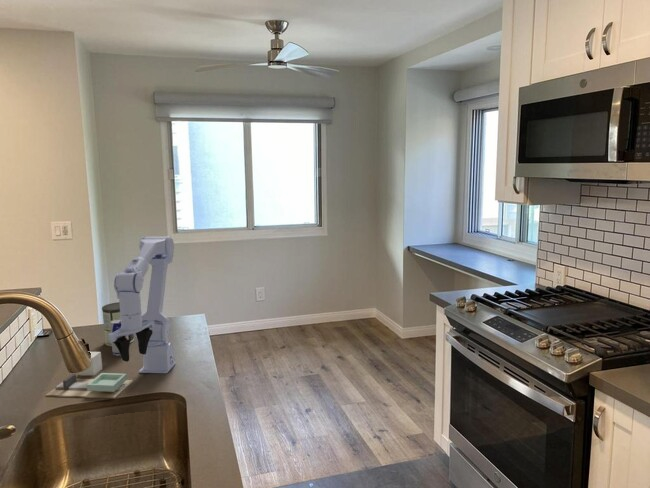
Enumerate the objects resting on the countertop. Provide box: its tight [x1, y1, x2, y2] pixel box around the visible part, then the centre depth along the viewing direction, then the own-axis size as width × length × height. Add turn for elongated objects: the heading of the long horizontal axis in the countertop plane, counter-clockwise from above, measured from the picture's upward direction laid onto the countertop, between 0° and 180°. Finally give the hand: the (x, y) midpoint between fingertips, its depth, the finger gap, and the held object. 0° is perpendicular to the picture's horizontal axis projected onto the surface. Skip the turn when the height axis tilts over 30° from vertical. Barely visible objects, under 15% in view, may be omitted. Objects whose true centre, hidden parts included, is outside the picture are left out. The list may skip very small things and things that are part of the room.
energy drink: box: [110, 319, 128, 357], centre depth 176 cm, size 5×5×12 cm
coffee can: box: [101, 302, 135, 347], centre depth 187 cm, size 10×10×14 cm
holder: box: [87, 372, 128, 392], centre depth 149 cm, size 8×8×2 cm
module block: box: [78, 351, 103, 377], centre depth 161 cm, size 5×5×6 cm
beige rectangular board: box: [45, 373, 134, 399], centre depth 150 cm, size 21×11×3 cm, turn 85°
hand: (134, 357), depth 147 cm, fingers open, 5 cm apart
